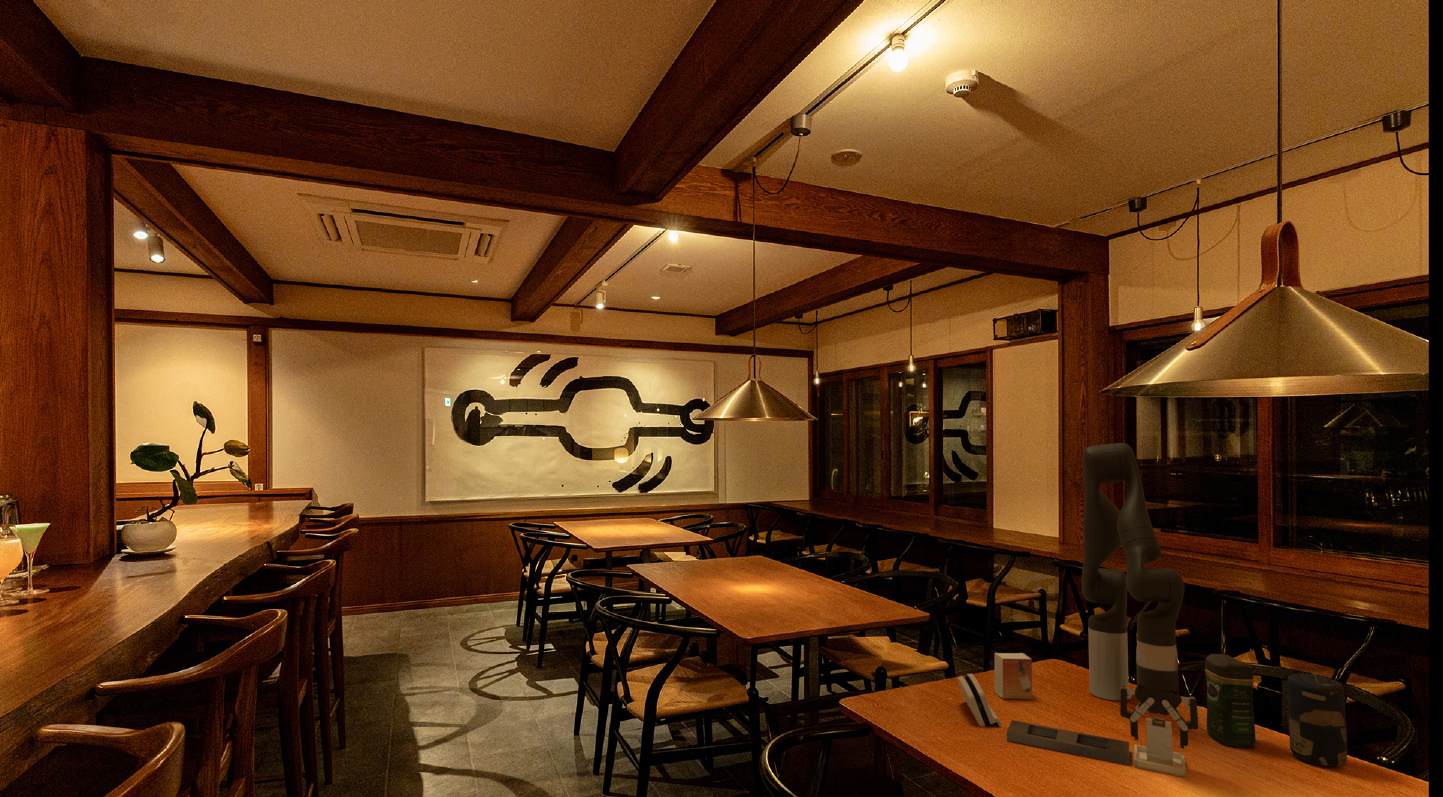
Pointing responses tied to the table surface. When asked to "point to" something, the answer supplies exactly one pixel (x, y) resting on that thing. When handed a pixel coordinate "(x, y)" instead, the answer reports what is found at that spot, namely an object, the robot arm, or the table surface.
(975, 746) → the table surface
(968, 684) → the beige device enclosure
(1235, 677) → the coffee jar
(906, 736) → the table surface
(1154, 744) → the grey rectangular block
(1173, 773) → the parts tray
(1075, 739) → the rack rail
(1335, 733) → the canister
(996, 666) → the small box
